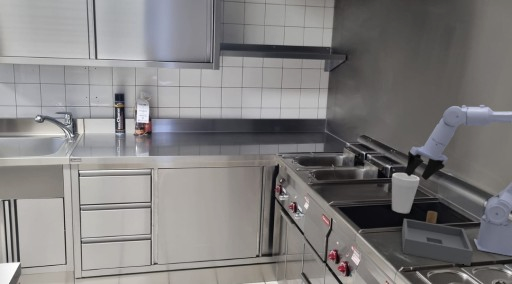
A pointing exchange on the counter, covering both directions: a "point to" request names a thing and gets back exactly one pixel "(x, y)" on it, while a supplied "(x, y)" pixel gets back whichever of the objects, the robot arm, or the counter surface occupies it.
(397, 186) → the foam cup
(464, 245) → the box
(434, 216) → the peg
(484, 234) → the robot arm
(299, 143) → the counter surface
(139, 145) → the counter surface
